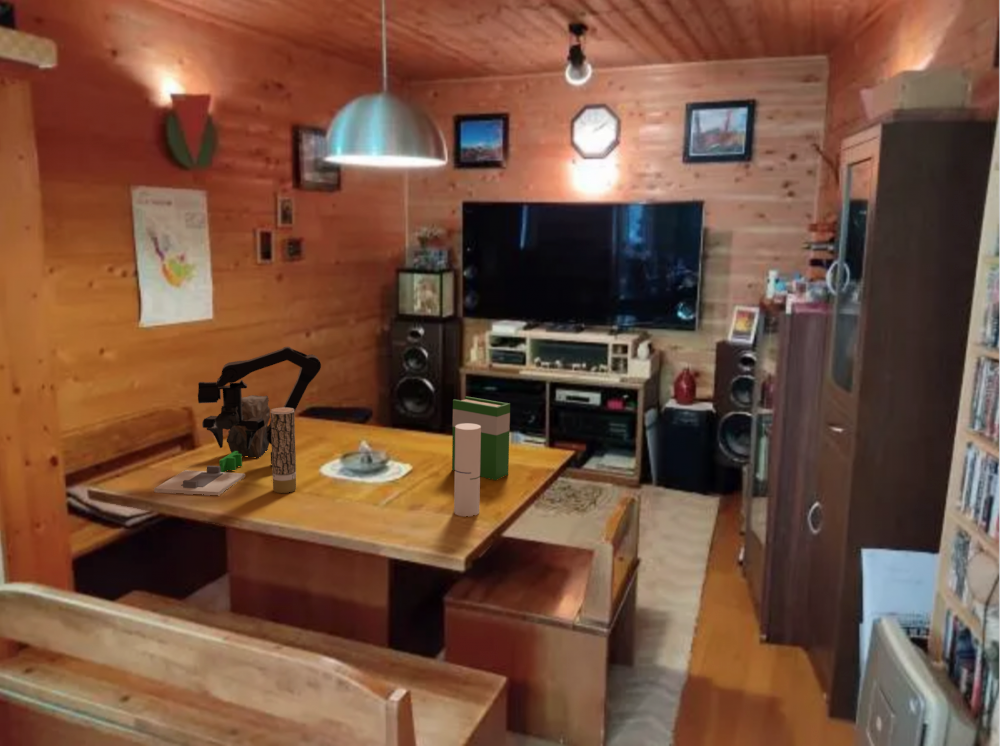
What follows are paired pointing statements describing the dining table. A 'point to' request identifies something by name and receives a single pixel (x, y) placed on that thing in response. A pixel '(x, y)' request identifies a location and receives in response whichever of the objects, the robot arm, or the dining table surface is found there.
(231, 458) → the green angled block
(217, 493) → the door panel
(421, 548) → the dining table surface
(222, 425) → the robot arm
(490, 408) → the hardback book
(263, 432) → the grey brown rock block
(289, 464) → the bark textured cylinder
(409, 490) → the dining table surface
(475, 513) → the cylindrical container
